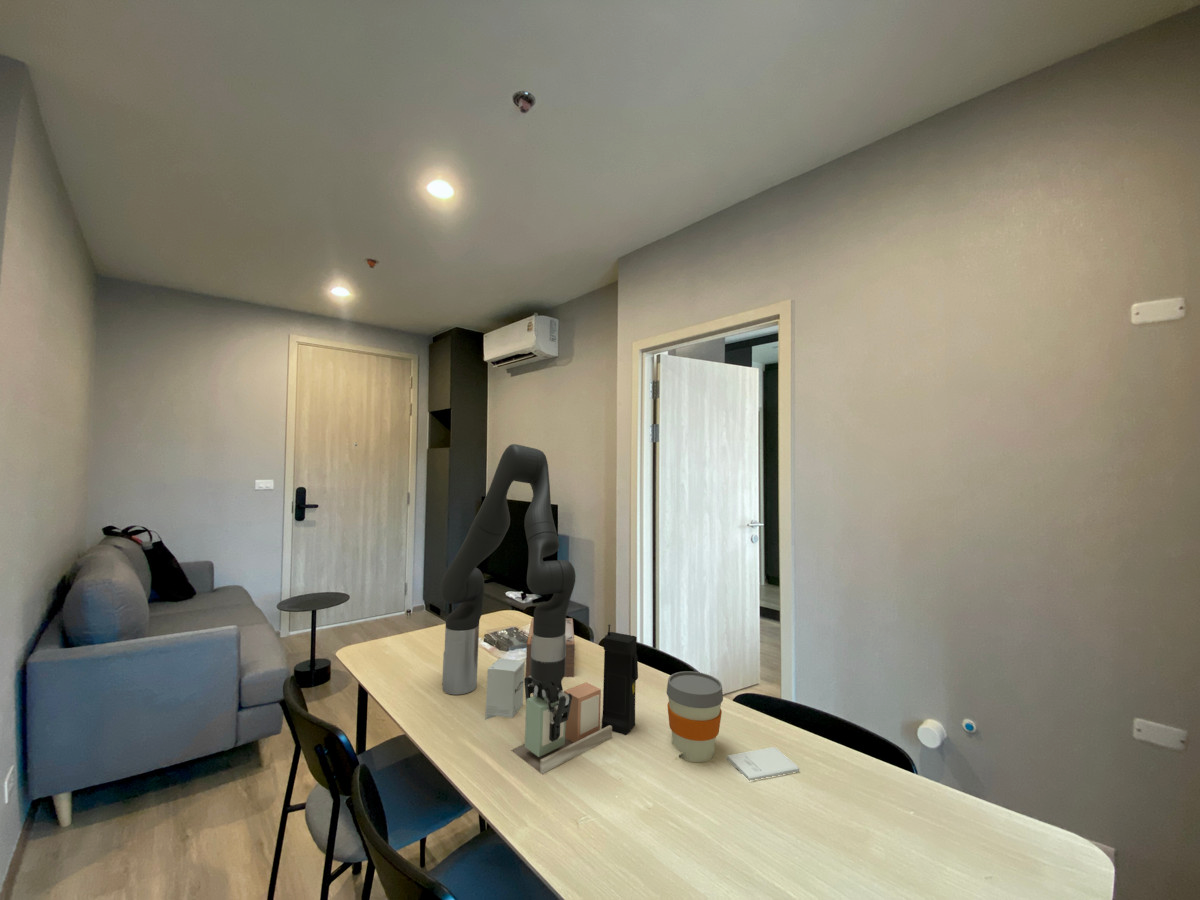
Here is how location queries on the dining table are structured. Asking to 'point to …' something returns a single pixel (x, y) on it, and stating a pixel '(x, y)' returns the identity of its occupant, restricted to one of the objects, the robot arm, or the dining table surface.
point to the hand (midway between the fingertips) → (545, 733)
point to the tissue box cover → (569, 648)
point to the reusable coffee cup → (694, 713)
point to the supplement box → (504, 688)
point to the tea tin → (541, 727)
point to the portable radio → (619, 682)
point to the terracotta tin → (583, 712)
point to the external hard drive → (762, 763)
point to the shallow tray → (563, 751)
